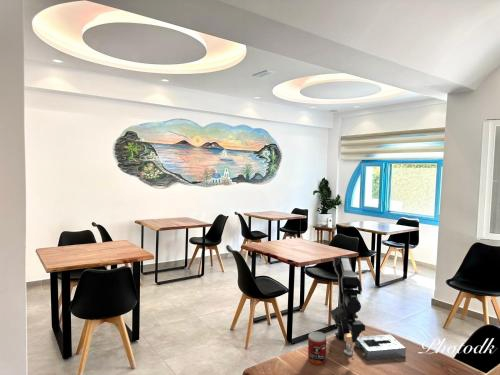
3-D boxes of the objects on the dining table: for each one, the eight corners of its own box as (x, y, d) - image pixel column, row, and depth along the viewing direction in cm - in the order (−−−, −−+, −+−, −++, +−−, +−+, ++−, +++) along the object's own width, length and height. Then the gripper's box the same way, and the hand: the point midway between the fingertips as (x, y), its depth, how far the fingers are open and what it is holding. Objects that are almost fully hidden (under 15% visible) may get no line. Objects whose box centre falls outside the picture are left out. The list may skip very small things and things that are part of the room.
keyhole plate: (354, 345, 153) (355, 336, 153) (390, 342, 156) (390, 334, 155) (367, 360, 141) (367, 350, 141) (405, 356, 144) (405, 347, 144)
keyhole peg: (342, 351, 148) (342, 333, 147) (350, 350, 148) (351, 332, 148) (346, 356, 144) (346, 337, 143) (354, 355, 145) (355, 337, 144)
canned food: (307, 364, 138) (307, 339, 137) (308, 353, 146) (308, 330, 145) (325, 366, 136) (326, 341, 136) (326, 356, 144) (326, 332, 143)
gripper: (324, 295, 153) (324, 327, 154) (341, 313, 135) (340, 349, 136) (346, 294, 155) (346, 326, 156) (366, 311, 136) (365, 347, 137)
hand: (348, 336), depth 146 cm, fingers open, 9 cm apart
